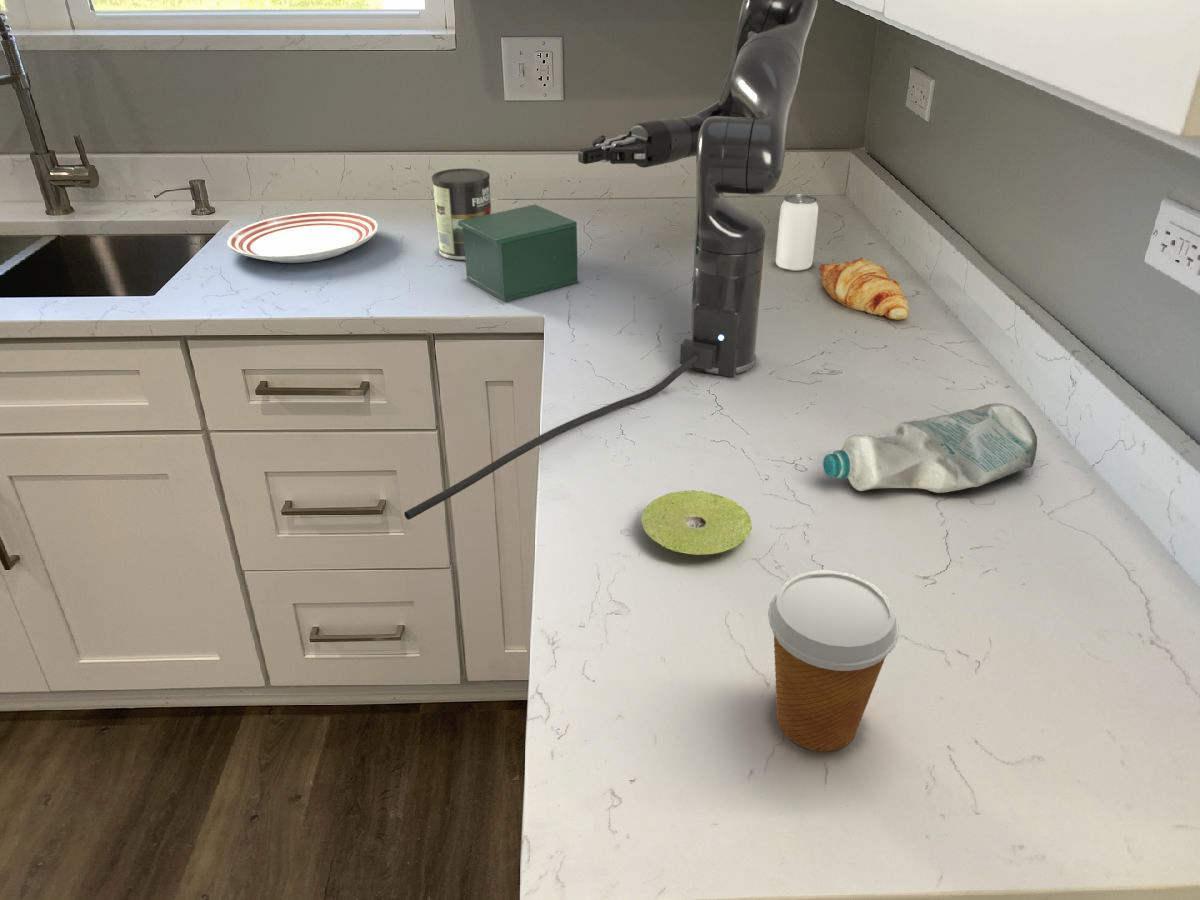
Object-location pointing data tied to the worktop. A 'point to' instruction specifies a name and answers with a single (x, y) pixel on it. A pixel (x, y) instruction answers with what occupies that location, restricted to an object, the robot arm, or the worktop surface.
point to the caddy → (522, 263)
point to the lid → (516, 224)
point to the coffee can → (458, 205)
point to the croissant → (865, 288)
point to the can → (797, 232)
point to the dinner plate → (303, 236)
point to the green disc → (696, 522)
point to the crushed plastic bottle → (939, 452)
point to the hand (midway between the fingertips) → (580, 157)
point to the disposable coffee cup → (828, 654)
